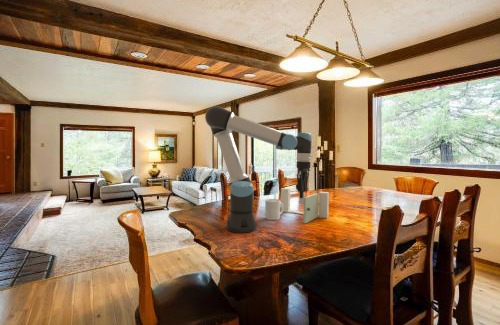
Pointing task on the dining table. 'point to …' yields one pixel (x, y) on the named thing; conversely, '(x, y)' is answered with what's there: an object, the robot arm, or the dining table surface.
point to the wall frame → (286, 208)
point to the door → (310, 207)
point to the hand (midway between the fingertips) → (301, 203)
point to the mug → (272, 209)
